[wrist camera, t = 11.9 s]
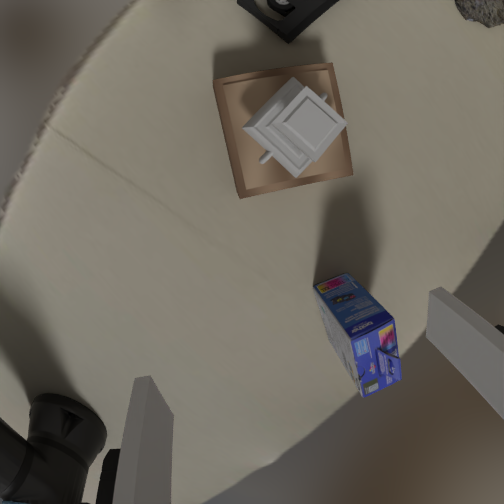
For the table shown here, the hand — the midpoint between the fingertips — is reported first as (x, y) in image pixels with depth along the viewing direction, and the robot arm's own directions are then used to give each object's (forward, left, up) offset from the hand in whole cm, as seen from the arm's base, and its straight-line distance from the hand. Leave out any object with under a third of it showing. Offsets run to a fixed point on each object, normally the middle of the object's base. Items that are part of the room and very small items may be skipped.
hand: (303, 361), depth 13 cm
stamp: (+6, +9, -20) cm, 23 cm away
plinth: (+6, +9, -25) cm, 27 cm away
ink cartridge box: (+10, -15, -25) cm, 30 cm away
